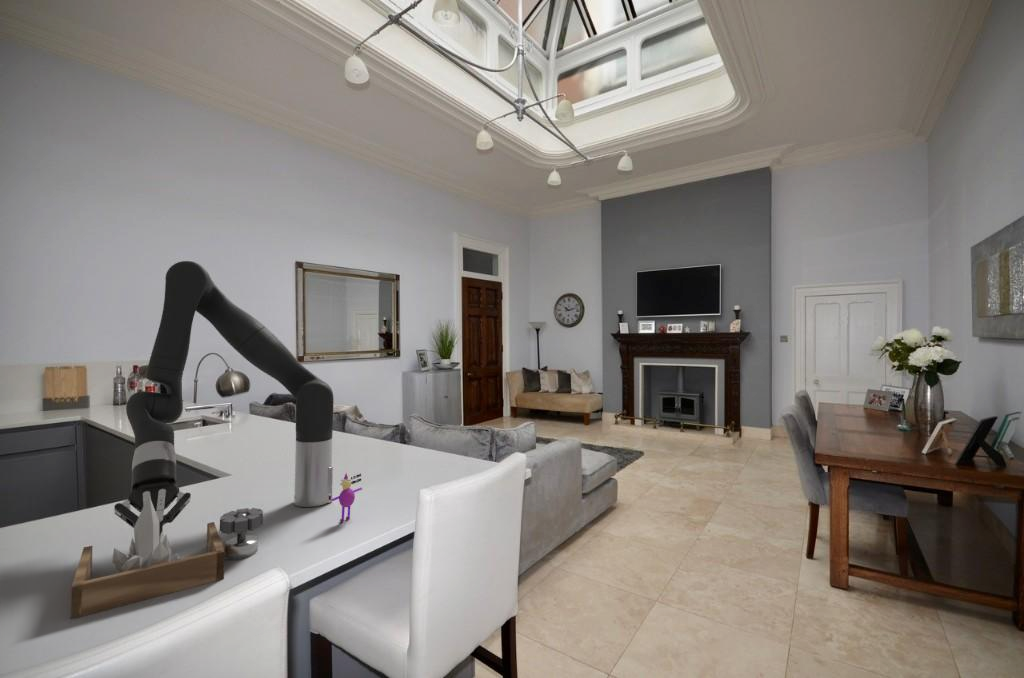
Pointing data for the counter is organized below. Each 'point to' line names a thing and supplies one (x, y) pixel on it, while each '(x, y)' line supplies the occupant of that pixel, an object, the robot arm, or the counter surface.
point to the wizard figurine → (346, 495)
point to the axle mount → (241, 545)
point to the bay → (144, 579)
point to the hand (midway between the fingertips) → (153, 543)
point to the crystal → (145, 543)
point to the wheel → (241, 521)
